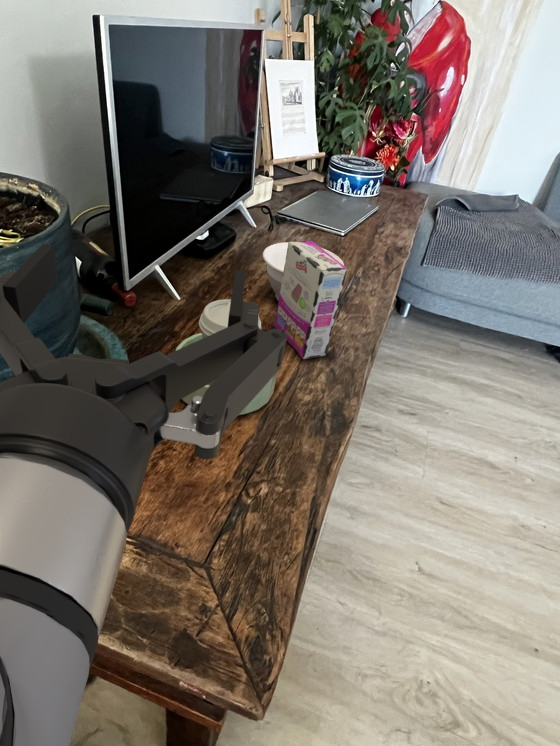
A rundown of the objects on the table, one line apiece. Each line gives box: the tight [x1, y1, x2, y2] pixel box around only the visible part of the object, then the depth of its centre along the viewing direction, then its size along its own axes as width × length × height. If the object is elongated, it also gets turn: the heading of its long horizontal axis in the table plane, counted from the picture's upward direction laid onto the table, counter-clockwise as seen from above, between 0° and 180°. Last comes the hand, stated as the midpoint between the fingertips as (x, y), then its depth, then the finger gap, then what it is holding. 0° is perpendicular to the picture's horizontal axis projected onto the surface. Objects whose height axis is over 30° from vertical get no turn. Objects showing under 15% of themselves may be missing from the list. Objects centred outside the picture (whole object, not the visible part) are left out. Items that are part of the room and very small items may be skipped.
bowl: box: [262, 241, 345, 301], centre depth 98 cm, size 16×16×8 cm
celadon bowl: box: [175, 332, 278, 416], centre depth 73 cm, size 15×15×5 cm
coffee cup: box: [198, 298, 262, 385], centre depth 70 cm, size 8×8×12 cm
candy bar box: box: [274, 240, 348, 360], centre depth 82 cm, size 11×5×16 cm, turn 27°
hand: (146, 274), depth 36 cm, fingers open, 13 cm apart
